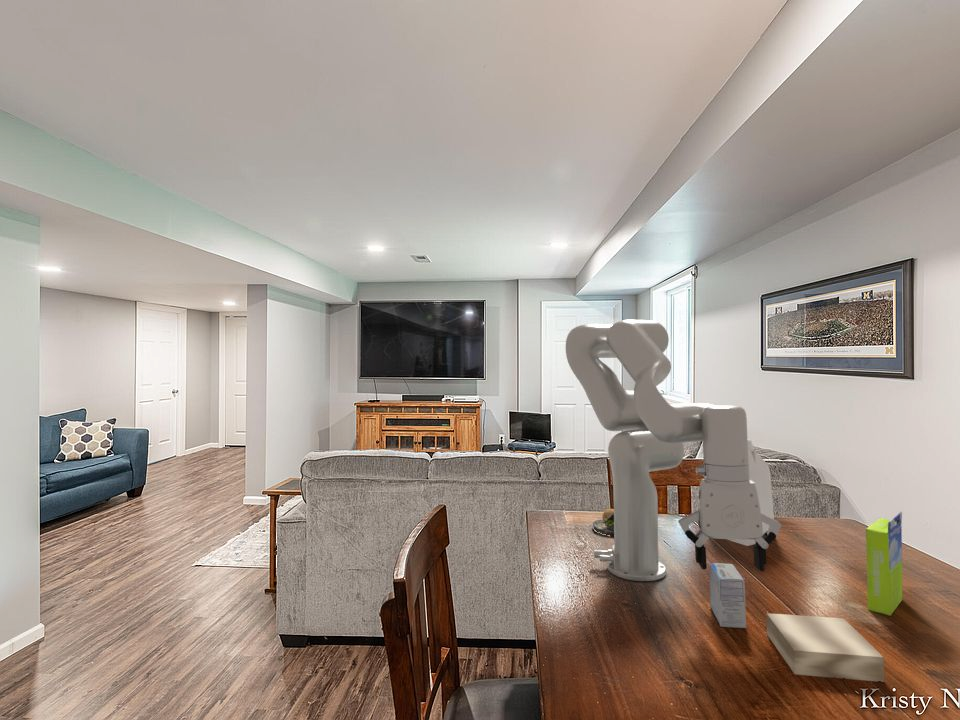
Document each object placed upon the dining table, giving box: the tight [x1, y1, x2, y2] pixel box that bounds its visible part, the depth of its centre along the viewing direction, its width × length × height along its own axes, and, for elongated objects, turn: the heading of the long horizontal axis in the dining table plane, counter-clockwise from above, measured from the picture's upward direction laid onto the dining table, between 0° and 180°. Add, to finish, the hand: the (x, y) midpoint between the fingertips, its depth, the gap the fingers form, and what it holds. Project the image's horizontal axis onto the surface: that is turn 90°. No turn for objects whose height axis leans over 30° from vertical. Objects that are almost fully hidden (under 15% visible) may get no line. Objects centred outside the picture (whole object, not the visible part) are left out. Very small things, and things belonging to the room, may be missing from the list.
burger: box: [592, 503, 614, 537], centre depth 149 cm, size 12×12×8 cm
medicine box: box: [708, 562, 747, 629], centre depth 98 cm, size 8×4×9 cm, turn 168°
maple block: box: [766, 612, 885, 683], centre depth 85 cm, size 12×12×4 cm
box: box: [865, 511, 903, 617], centre depth 102 cm, size 10×4×17 cm, turn 132°
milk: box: [726, 439, 775, 547], centre depth 143 cm, size 12×12×26 cm
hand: (730, 567), depth 97 cm, fingers open, 9 cm apart
